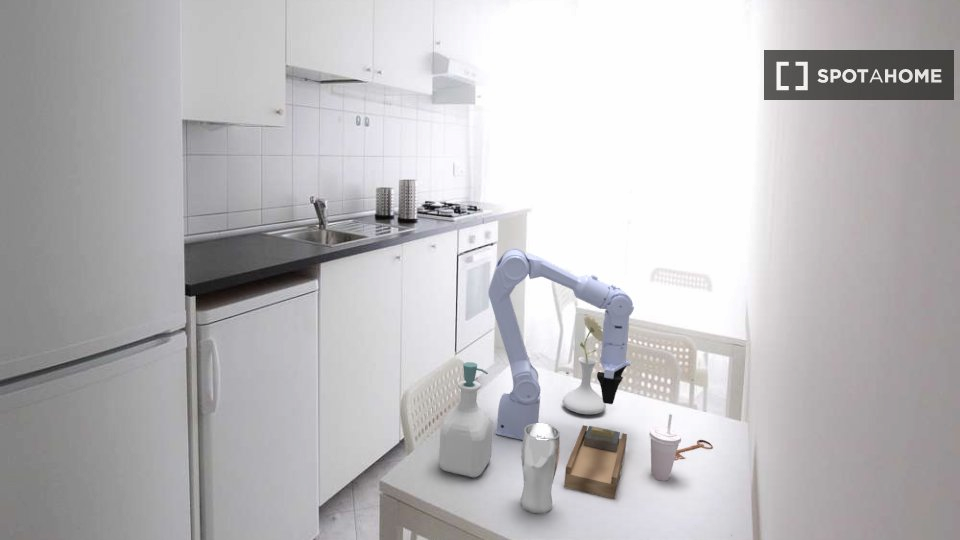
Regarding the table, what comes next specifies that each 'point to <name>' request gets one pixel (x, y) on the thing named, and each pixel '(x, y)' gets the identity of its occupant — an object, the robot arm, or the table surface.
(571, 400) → the flower in vase
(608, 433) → the lever cap
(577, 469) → the wooden tray
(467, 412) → the soap bottle
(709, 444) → the key
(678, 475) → the table surface
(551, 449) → the beer glass
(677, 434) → the smoothie
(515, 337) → the robot arm
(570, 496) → the table surface
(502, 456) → the table surface
